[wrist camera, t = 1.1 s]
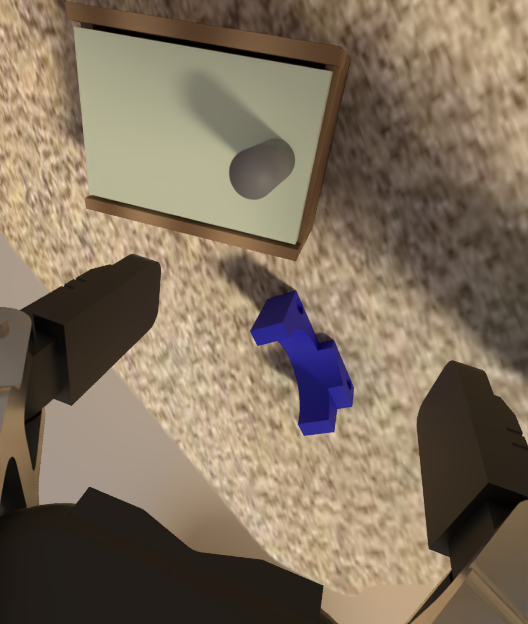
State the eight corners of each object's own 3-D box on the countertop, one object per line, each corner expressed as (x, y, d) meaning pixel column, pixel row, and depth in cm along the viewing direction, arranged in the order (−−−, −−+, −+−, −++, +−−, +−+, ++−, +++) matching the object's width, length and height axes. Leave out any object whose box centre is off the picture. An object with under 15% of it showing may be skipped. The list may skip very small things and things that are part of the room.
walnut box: (351, 58, 25) (341, 46, 19) (311, 229, 31) (295, 261, 25) (134, 22, 27) (64, 1, 21) (138, 188, 34) (86, 208, 28)
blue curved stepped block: (353, 386, 38) (350, 430, 33) (313, 393, 40) (303, 435, 35) (311, 285, 34) (299, 317, 29) (268, 298, 36) (250, 331, 31)
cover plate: (332, 72, 21) (318, 64, 16) (297, 239, 26) (277, 274, 21) (83, 28, 23) (1, 10, 18) (97, 191, 28) (36, 212, 23)
